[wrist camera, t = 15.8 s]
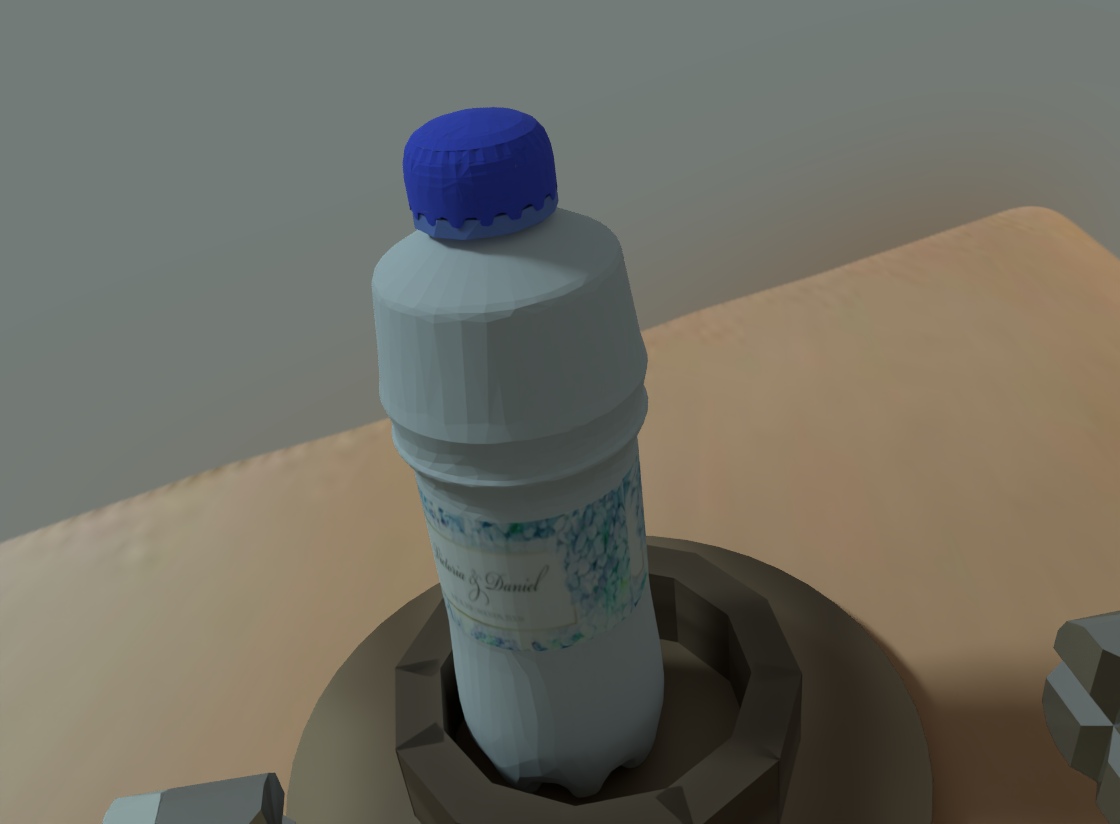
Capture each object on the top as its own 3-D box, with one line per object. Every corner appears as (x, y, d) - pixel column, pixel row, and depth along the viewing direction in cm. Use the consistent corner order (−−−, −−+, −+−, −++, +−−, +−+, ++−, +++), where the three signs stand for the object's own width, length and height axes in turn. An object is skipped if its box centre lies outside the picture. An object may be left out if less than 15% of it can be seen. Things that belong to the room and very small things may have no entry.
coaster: (260, 1180, 24) (211, 1099, 22) (314, 604, 41) (289, 526, 38) (1072, 1006, 25) (1101, 912, 23) (796, 517, 42) (798, 437, 40)
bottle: (423, 769, 32) (252, 149, 21) (543, 633, 36) (449, 66, 26) (605, 865, 28) (507, 180, 18) (711, 701, 33) (684, 77, 22)
